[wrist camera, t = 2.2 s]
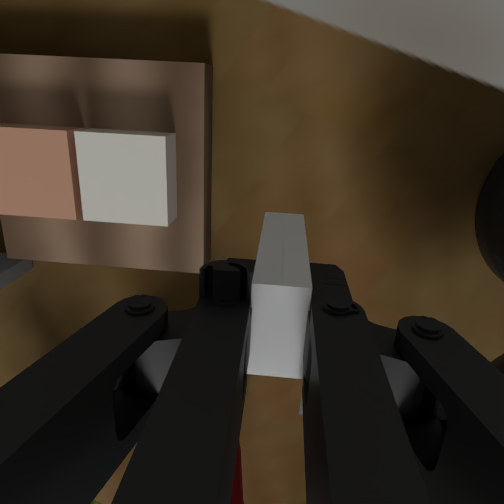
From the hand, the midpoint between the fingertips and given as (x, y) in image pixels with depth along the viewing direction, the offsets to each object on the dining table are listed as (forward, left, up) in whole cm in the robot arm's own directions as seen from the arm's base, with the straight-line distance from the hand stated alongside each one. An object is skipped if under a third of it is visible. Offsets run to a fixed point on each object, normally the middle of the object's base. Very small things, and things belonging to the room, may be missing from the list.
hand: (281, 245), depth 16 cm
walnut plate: (+14, 0, -16) cm, 21 cm away
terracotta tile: (+17, 0, -13) cm, 22 cm away
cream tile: (+11, 0, -13) cm, 17 cm away
